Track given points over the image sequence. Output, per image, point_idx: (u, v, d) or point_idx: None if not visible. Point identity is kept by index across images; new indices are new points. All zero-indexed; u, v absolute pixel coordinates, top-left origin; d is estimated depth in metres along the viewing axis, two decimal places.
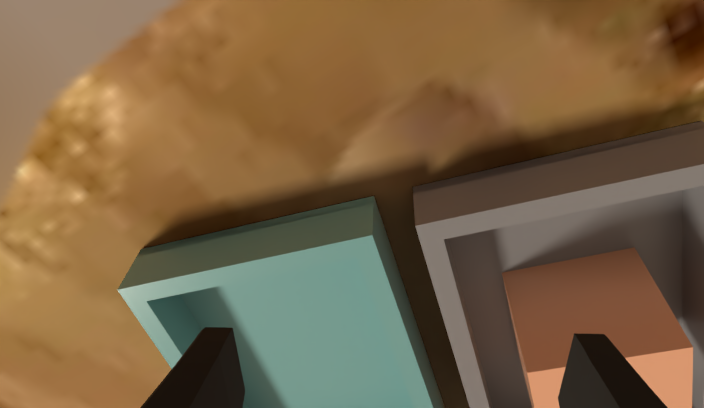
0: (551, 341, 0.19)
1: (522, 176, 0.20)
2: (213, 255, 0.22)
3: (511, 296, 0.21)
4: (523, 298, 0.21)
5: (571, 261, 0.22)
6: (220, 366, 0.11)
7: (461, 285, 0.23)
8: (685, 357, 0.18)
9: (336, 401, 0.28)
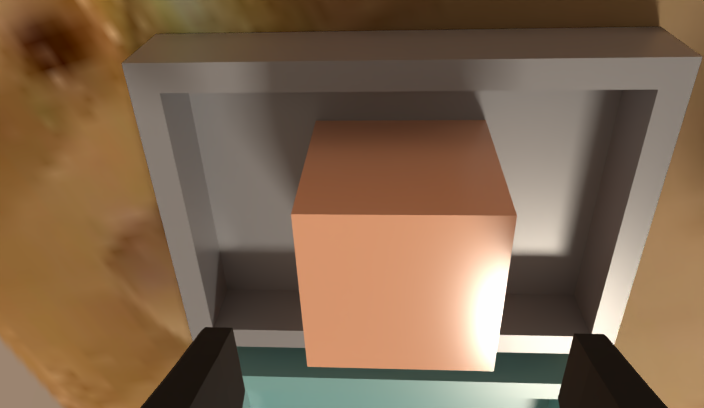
0: None
1: None
2: None
3: None
4: None
5: None
6: (220, 366, 0.11)
7: None
8: (310, 221, 0.13)
9: None
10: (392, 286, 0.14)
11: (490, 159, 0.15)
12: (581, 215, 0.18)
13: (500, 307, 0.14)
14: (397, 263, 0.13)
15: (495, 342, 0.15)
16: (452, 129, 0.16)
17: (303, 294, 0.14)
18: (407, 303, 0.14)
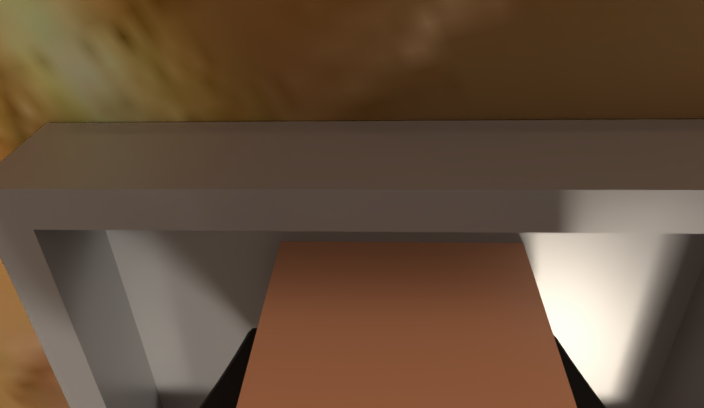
0: None
1: None
2: None
3: None
4: None
5: None
6: None
7: None
8: None
9: None
10: None
11: (539, 329, 0.10)
12: (650, 359, 0.13)
13: None
14: None
15: None
16: (476, 261, 0.11)
17: None
18: None
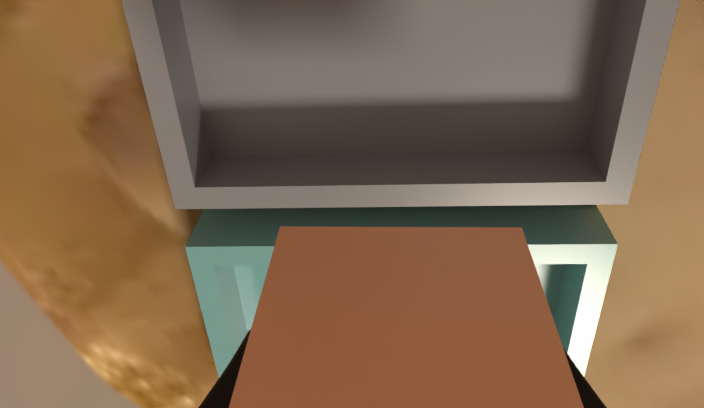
0: None
1: None
2: None
3: None
4: None
5: None
6: None
7: (327, 153, 0.19)
8: None
9: None
10: None
11: (537, 308, 0.10)
12: (593, 48, 0.17)
13: None
14: None
15: None
16: (475, 244, 0.11)
17: None
18: None
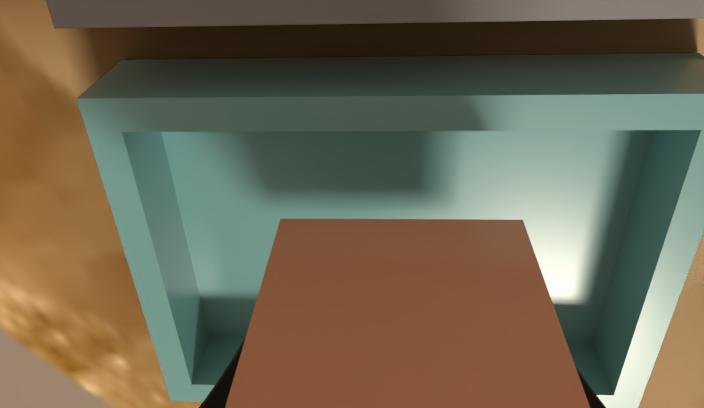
0: None
1: None
2: None
3: None
4: None
5: None
6: None
7: None
8: None
9: None
10: None
11: (538, 298, 0.10)
12: None
13: None
14: None
15: None
16: (476, 236, 0.11)
17: None
18: None
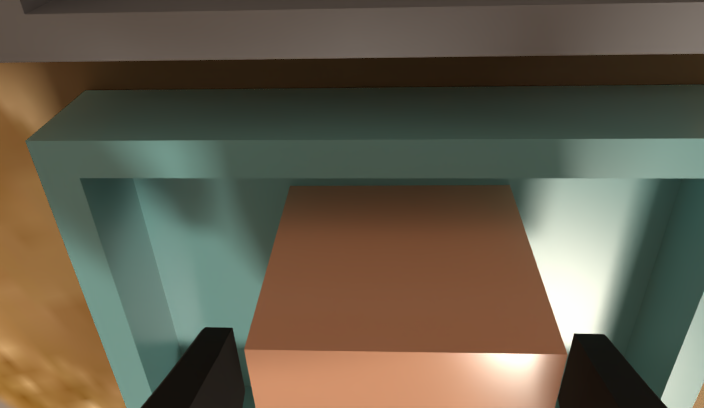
0: None
1: None
2: None
3: None
4: None
5: None
6: (220, 366, 0.11)
7: None
8: (272, 358, 0.09)
9: None
10: None
11: (521, 250, 0.11)
12: None
13: None
14: None
15: None
16: (467, 199, 0.12)
17: None
18: None
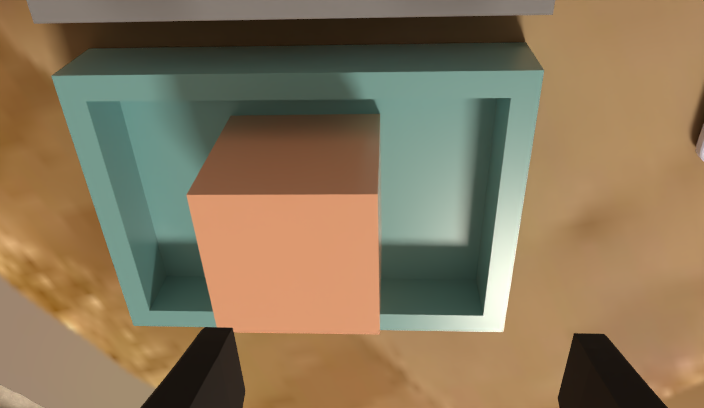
0: None
1: None
2: None
3: None
4: None
5: None
6: (220, 366, 0.11)
7: None
8: (203, 201, 0.15)
9: (410, 183, 0.20)
10: (280, 257, 0.16)
11: (372, 147, 0.17)
12: None
13: (376, 276, 0.16)
14: (282, 238, 0.16)
15: (377, 307, 0.17)
16: (348, 122, 0.18)
17: (206, 266, 0.16)
18: (296, 273, 0.16)
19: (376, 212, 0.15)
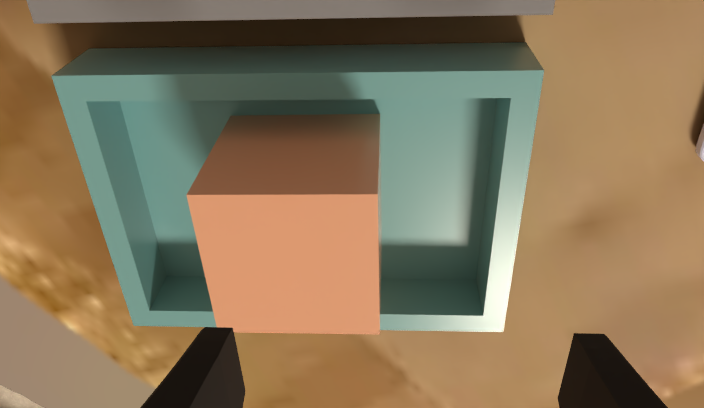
0: None
1: None
2: None
3: None
4: None
5: None
6: (220, 366, 0.11)
7: None
8: (203, 201, 0.15)
9: (410, 183, 0.20)
10: (280, 257, 0.16)
11: (372, 147, 0.17)
12: None
13: (376, 276, 0.16)
14: (282, 238, 0.16)
15: (377, 307, 0.17)
16: (348, 122, 0.18)
17: (206, 266, 0.16)
18: (296, 273, 0.16)
19: (376, 212, 0.15)
